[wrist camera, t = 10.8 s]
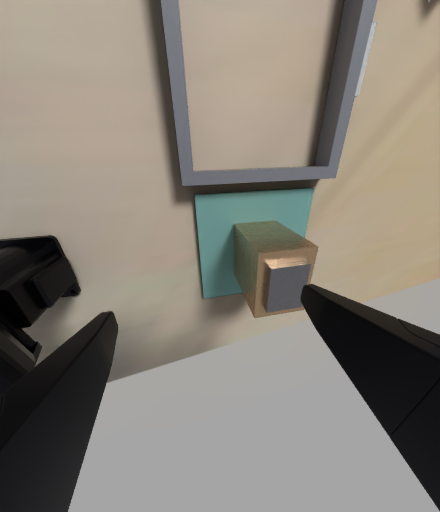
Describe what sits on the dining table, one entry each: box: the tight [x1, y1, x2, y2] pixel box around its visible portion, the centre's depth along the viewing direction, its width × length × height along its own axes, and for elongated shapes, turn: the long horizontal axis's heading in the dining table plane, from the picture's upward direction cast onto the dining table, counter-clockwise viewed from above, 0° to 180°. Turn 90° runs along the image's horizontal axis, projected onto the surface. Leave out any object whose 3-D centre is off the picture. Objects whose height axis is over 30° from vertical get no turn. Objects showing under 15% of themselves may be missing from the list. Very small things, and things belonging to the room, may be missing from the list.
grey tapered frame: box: [161, 0, 377, 186], centre depth 13 cm, size 15×16×2 cm
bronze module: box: [234, 220, 318, 318], centre depth 17 cm, size 4×6×8 cm
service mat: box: [194, 188, 314, 298], centre depth 21 cm, size 12×12×1 cm
